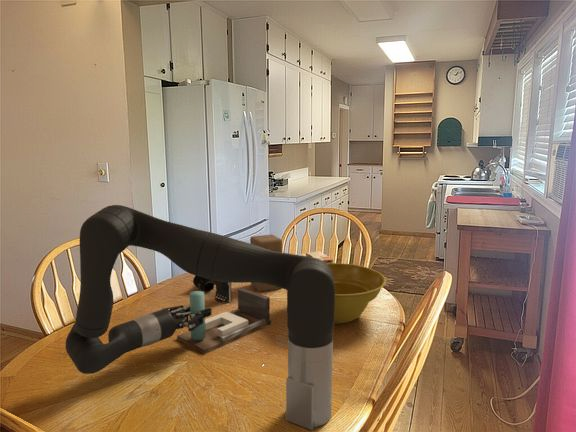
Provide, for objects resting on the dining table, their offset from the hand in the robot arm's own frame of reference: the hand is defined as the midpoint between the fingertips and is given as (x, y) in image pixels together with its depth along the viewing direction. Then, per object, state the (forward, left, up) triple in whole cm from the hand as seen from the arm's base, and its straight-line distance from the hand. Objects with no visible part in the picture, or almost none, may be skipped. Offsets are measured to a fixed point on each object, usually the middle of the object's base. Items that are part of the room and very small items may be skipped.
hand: (205, 309), depth 123 cm
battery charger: (+26, +16, -10) cm, 32 cm away
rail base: (+7, -1, -9) cm, 12 cm away
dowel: (-3, 0, -7) cm, 8 cm away
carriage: (+7, -1, -8) cm, 11 cm away
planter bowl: (+36, -24, -10) cm, 44 cm away
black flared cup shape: (+35, +32, -10) cm, 48 cm away
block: (+47, +11, -10) cm, 49 cm away
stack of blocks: (+63, -2, -10) cm, 64 cm away
